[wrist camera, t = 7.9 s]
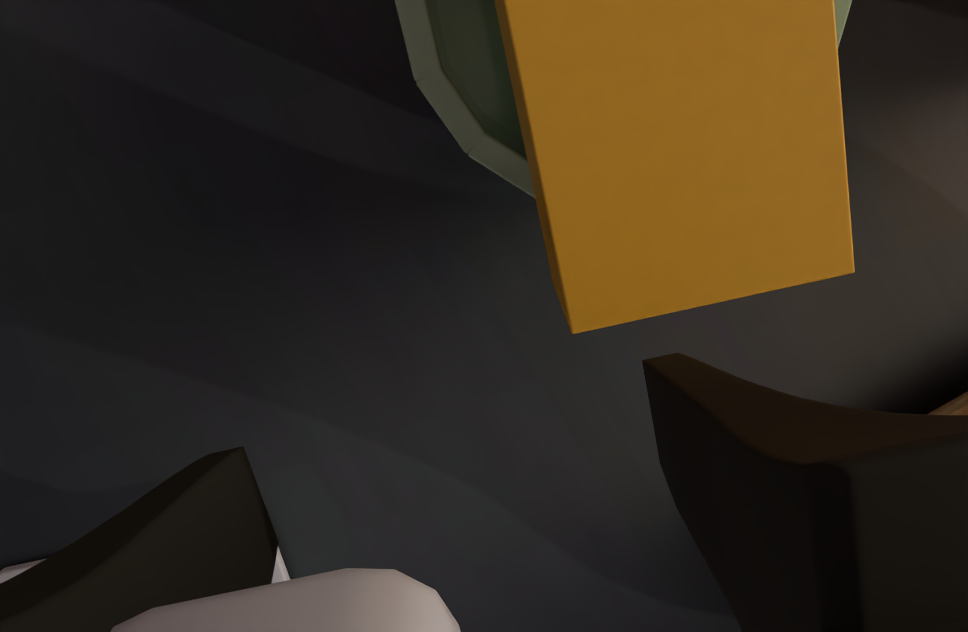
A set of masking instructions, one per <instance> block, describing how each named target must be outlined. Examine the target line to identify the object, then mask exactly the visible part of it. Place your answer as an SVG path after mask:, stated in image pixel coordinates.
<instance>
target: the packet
mask: <svg viewBox="0 0 968 632" xmlns="http://www.w3.org/2000/svg"><path fill="white" fill-rule="evenodd" d="M494 2H495V6H496V11H497V16H498V21H499V26H500V31H501V35H502V40H503V45H504V50H505V55H506V60H507V64H508V69H509V74H510V79H511V84H512V88H513V93H514V98H515V103H516V108H517V113H518V117H519V122H520V127H521V132H522V137H523V142H524V146H525V151H526V156H527V161H528V166H529V170H530V175H531V180H532V185H533V190H534V195H535V199H536V204H537V209H538V214H539V219H540V224H541V228H542V233H543V238H544V243H545V248H546V253H547V257H548V262H549V267H550V272H551V277H552V281H553V285H554V288H555V290H556V293H557V296H558V299H559V301H560V304H561V307H562V310H563V312H564V315H565V318H566V321H567V323H568V326H569V329H570V332H571V333H572V334H576V333H580V332H585V331H589V330H594V329H599V328H603V327H608V326H612V325H617V324H621V323H626V322H631V321H635V320H640V319H644V318H649V317H653V316H658V315H663V314H667V313H672V312H676V311H681V310H686V309H690V308H695V307H699V306H704V305H708V304H713V303H718V302H722V301H727V300H731V299H736V298H740V297H745V296H750V295H754V294H759V293H763V292H768V291H772V290H777V289H782V288H786V287H791V286H795V285H800V284H805V283H809V282H814V281H818V280H823V279H827V278H832V277H837V276H841V275H846V274H850V273H853V272H854V271H855V269H854V256H853V243H852V230H851V217H850V204H849V191H848V178H847V165H846V152H845V139H844V126H843V113H842V100H841V87H840V74H839V61H838V47H837V34H836V21H835V8H834V0H494Z"/></svg>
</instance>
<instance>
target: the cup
mask: <svg viewBox="0 0 968 632" xmlns="http://www.w3.org/2000/svg"><path fill="white" fill-rule="evenodd" d="M394 1H395V5H396V9H397V13H398V17H399V21H400V25H401V29H402V34H403V38H404V42H405V46H406V50H407V54H408V58H409V62H410V66H411V70H412V74H413V78H414V80H415V81H417V82H416V84H417V86H418V88H419V89H420V91H421V92H422V94H423V95H424V96H425V98H426V99H427V101H428V102H429V103H430V105H431V106H432V108H433V109H434V111H435V112H436V113H437V115H438V116H439V118H440V119H441V120H442V122H443V123H444V125H445V126H446V127H447V129H448V130H449V132H450V133H451V135H452V136H453V137H454V139H455V140H456V142H457V143H458V144H459V146H460V147H461V149H462V150H463V151H464V153H466V154H467V153H468V156H469V157H470V158H471V159H473V160H474V161H476V162H478V163H479V164H481V165H482V166H484V167H486V168H487V169H489V170H490V171H492V172H493V173H495V174H497V175H498V176H500V177H501V178H503V179H505V180H506V181H508V182H509V183H511V184H512V185H514V186H516V187H517V188H519V189H520V190H522V191H524V192H525V193H527V194H528V195H530V196H531V197H533V198H535V195H534V190H533V185H532V180H531V175H530V170H529V166H528V161H527V156H526V151H525V146H524V142H523V137H522V132H521V127H520V122H519V117H518V113H517V108H516V103H515V98H514V93H513V88H512V84H511V79H510V74H509V69H508V64H507V60H506V55H505V50H504V45H503V40H502V35H501V31H500V26H499V21H498V16H497V11H496V6H495V2H494V0H394ZM851 3H852V0H834V8H835V21H836V34H837V47H839V43H840V40H841V37H842V33H843V30H844V26H845V23H846V20H847V16H848V13H849V10H850V6H851Z"/></svg>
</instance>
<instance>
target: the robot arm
mask: <svg viewBox="0 0 968 632" xmlns="http://www.w3.org/2000/svg"><path fill="white" fill-rule="evenodd" d="M642 362H643V368H644V374H645V379H646V385H647V391H648V396H649V402H650V408H651V414H652V419H653V425H654V431H655V436H656V442H657V448H658V454H659V459H660V464H661V467H662V470H663V472H664V475H665V478H666V481H667V483H668V486H669V489H670V491H671V494H672V497H673V499H674V502H675V504H676V507H677V509H678V511H679V513H680V515H681V517H682V519H683V520H684V522H685V524H686V526H687V528H688V530H689V532H690V533H691V535H692V537H693V539H694V541H695V543H696V544H697V546H698V548H699V550H700V552H701V554H702V555H703V557H704V559H705V561H706V563H707V564H708V566H709V568H710V570H711V572H712V574H713V575H714V577H715V579H716V581H717V583H718V584H719V586H720V588H721V590H722V592H723V594H724V595H725V597H726V599H727V601H728V603H729V605H730V607H731V609H732V611H733V613H734V615H735V617H736V619H737V621H738V623H739V625H740V628H741V630H742V632H968V415H925V414H905V413H890V412H882V411H873V410H864V409H856V408H849V407H843V406H837V405H832V404H827V403H823V402H818V401H813V400H809V399H804V398H800V397H796V396H793V395H789V394H785V393H782V392H779V391H776V390H773V389H770V388H767V387H763V386H760V385H758V384H755V383H752V382H749V381H747V380H744V379H741V378H739V377H736V376H734V375H731V374H729V373H726V372H724V371H722V370H719V369H717V368H714V367H712V366H710V365H707V364H705V363H703V362H700V361H698V360H696V359H693V358H691V357H688V356H686V355H683V354H680V353H674V354H670V355H665V356H661V357H656V358H651V359H647V360H642ZM278 543H279V542H278V540H277V537H276V534H275V531H274V529H273V526H272V523H271V521H270V518H269V515H268V512H267V510H266V507H265V504H264V502H263V499H262V496H261V493H260V491H259V488H258V485H257V482H256V480H255V477H254V474H253V472H252V469H251V466H250V463H249V461H248V458H247V455H246V453H245V450H244V447H239V448H234V449H230V450H225V451H220V452H216V453H211V454H209V455H207V456H204V457H202V458H200V459H199V460H197V461H195V462H193V463H192V464H190V465H188V466H187V467H185V468H184V469H182V470H181V471H179V472H178V473H176V474H175V475H173V476H172V477H170V478H169V479H167V480H166V481H164V482H163V483H162V484H160V485H159V486H157V487H156V488H154V489H153V490H152V491H150V492H149V493H147V494H146V495H144V496H143V497H142V498H140V499H139V500H137V501H136V502H134V503H133V504H132V505H130V506H129V507H127V508H126V509H124V510H123V511H121V512H120V513H118V514H117V515H115V516H114V517H112V518H111V519H109V520H108V521H106V522H105V523H103V524H102V525H100V526H99V527H97V528H96V529H94V530H93V531H91V532H89V533H88V534H86V535H85V536H83V537H82V538H80V539H79V540H77V541H76V542H74V543H72V544H71V545H69V546H68V547H66V548H64V549H63V550H61V551H59V552H57V553H56V554H54V555H52V556H51V557H49V558H47V559H42V560H37V561H33V562H28V563H23V564H18V565H14V566H9V567H6V568H3V569H2V570H1V571H0V632H461V631H460V628H459V625H458V623H457V622H456V620H455V618H454V617H453V615H452V614H451V612H450V611H449V609H448V608H447V606H446V605H445V603H444V602H443V600H442V599H441V597H440V596H439V594H438V593H437V591H436V590H434V589H432V588H430V587H428V586H426V585H424V584H422V583H420V582H418V581H417V580H415V579H413V578H411V577H409V576H407V575H405V574H403V573H401V572H399V571H397V570H395V569H354V568H345V569H341V570H336V571H331V572H326V573H321V574H316V575H311V576H306V577H302V578H297V579H292V580H290V578H289V575H288V572H287V569H286V567H285V564H284V561H283V559H282V556H281V553H280V550H279V548H278Z"/></svg>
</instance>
